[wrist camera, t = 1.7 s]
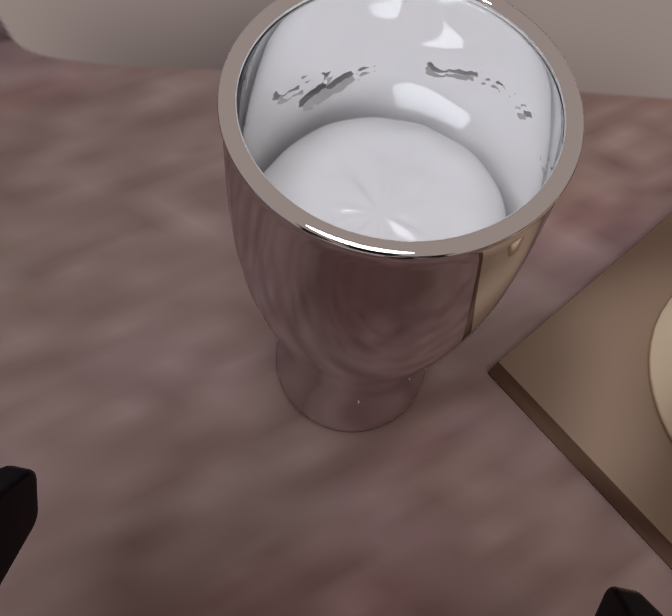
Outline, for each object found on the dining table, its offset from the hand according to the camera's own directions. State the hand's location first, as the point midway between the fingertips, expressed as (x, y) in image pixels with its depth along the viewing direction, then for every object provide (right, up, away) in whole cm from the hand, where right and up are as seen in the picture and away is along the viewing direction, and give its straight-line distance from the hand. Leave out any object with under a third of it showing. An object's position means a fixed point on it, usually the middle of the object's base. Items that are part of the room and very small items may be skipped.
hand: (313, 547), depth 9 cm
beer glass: (+1, +2, +15) cm, 15 cm away
